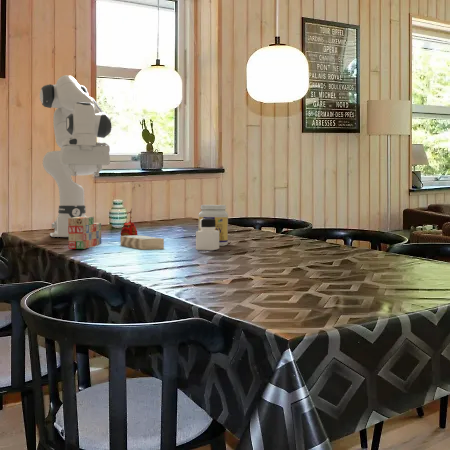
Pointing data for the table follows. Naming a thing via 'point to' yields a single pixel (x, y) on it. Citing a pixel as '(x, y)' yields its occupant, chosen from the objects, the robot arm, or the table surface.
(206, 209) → the supplement tub
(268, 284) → the table surface
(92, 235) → the stack of blocks
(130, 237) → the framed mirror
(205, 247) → the medicine bottle
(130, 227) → the red clay folk toy
